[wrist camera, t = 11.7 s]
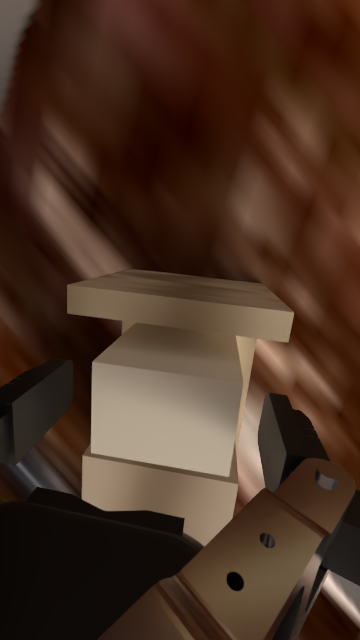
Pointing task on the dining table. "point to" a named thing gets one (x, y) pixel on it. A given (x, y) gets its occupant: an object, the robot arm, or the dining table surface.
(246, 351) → the pastel slab stack
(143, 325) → the cream block
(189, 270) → the dining table surface
